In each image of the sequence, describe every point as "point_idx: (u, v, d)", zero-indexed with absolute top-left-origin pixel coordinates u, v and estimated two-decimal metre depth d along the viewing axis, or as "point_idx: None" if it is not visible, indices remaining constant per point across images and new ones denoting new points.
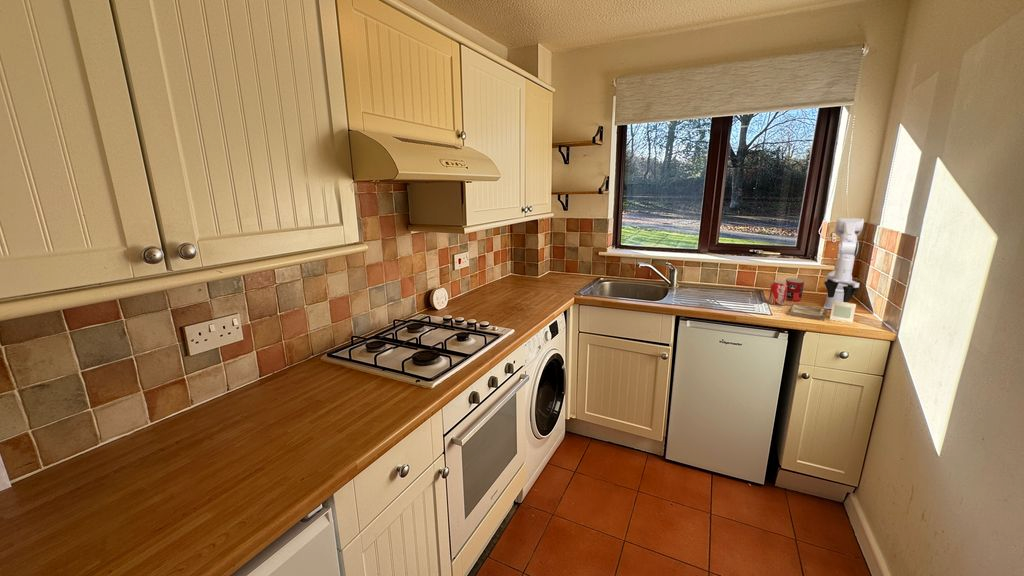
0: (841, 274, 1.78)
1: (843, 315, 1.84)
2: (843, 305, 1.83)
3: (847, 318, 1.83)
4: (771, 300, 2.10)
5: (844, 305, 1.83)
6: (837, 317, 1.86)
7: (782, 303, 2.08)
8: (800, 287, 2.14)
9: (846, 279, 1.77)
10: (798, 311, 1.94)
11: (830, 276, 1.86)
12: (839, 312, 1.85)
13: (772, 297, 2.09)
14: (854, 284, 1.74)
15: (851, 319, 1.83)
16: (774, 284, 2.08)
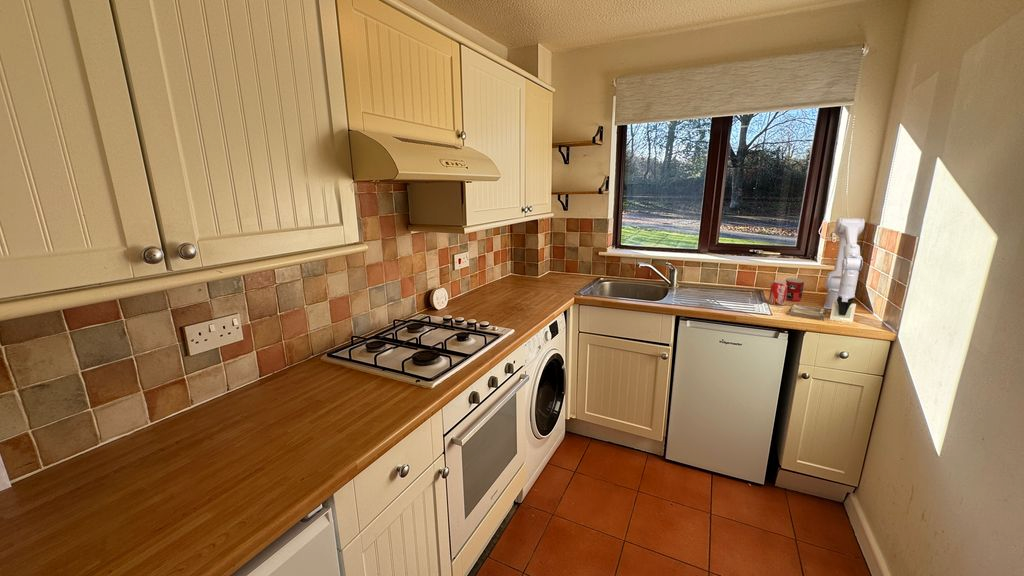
0: (840, 288, 1.83)
1: (843, 315, 1.84)
2: None
3: (847, 318, 1.84)
4: (771, 300, 2.10)
5: None
6: (837, 317, 1.86)
7: (782, 303, 2.08)
8: (800, 287, 2.14)
9: (843, 293, 1.82)
10: (798, 311, 1.94)
11: None
12: None
13: (772, 297, 2.09)
14: (842, 298, 1.79)
15: (851, 319, 1.83)
16: (774, 284, 2.08)
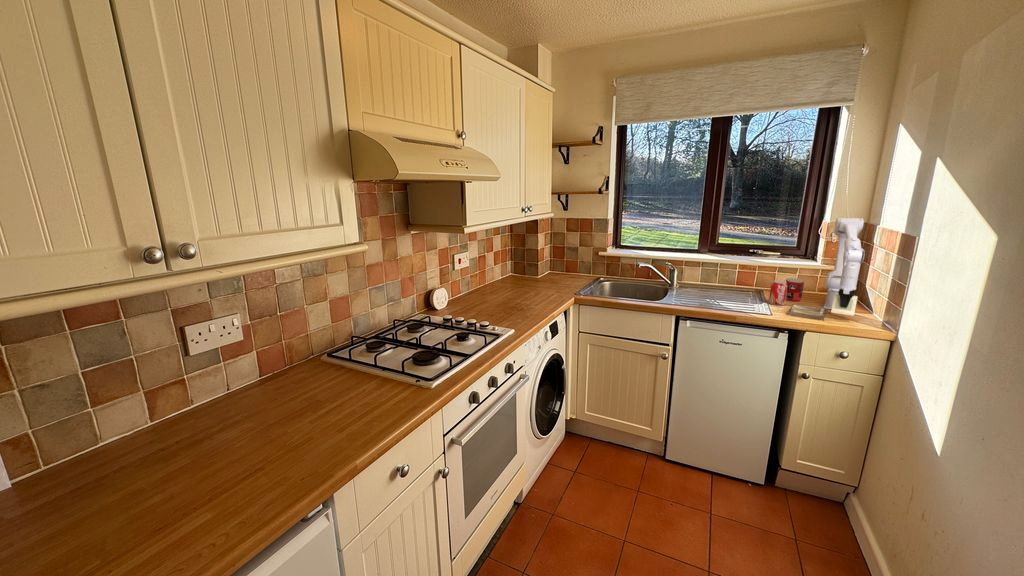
0: (841, 280, 1.82)
1: None
2: None
3: (848, 310, 1.83)
4: (771, 300, 2.10)
5: None
6: (838, 309, 1.85)
7: (782, 303, 2.08)
8: (800, 287, 2.14)
9: (845, 286, 1.81)
10: (798, 311, 1.94)
11: None
12: None
13: (772, 297, 2.09)
14: (843, 290, 1.78)
15: (853, 311, 1.82)
16: (774, 284, 2.08)
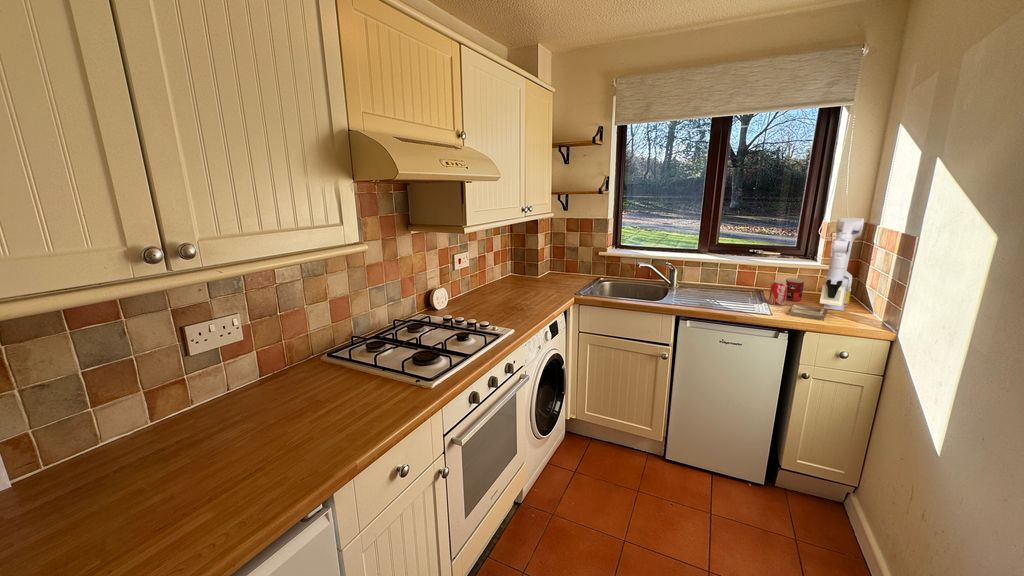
0: (829, 271, 1.85)
1: (833, 298, 1.86)
2: None
3: (836, 301, 1.85)
4: (771, 300, 2.10)
5: None
6: (827, 300, 1.88)
7: (782, 303, 2.08)
8: (800, 287, 2.14)
9: (833, 276, 1.84)
10: (798, 311, 1.94)
11: None
12: None
13: (772, 297, 2.09)
14: (831, 280, 1.81)
15: (840, 302, 1.85)
16: (774, 284, 2.08)
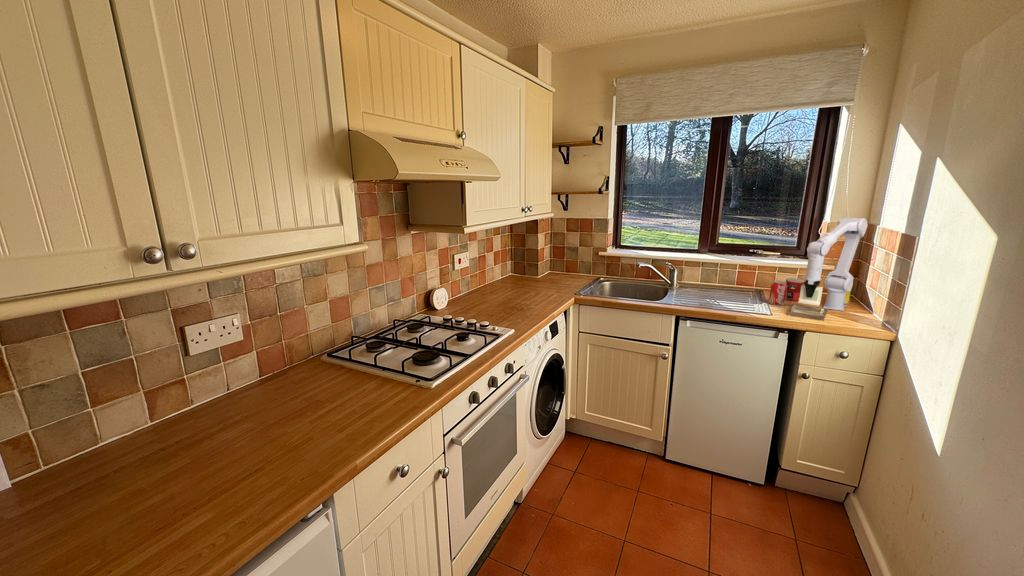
0: (807, 271, 1.91)
1: (811, 298, 1.92)
2: None
3: (814, 301, 1.92)
4: (771, 300, 2.10)
5: None
6: (805, 300, 1.94)
7: (782, 303, 2.08)
8: (800, 287, 2.14)
9: (810, 277, 1.90)
10: (798, 311, 1.94)
11: None
12: None
13: (772, 297, 2.09)
14: (808, 281, 1.87)
15: (818, 301, 1.91)
16: (774, 284, 2.08)
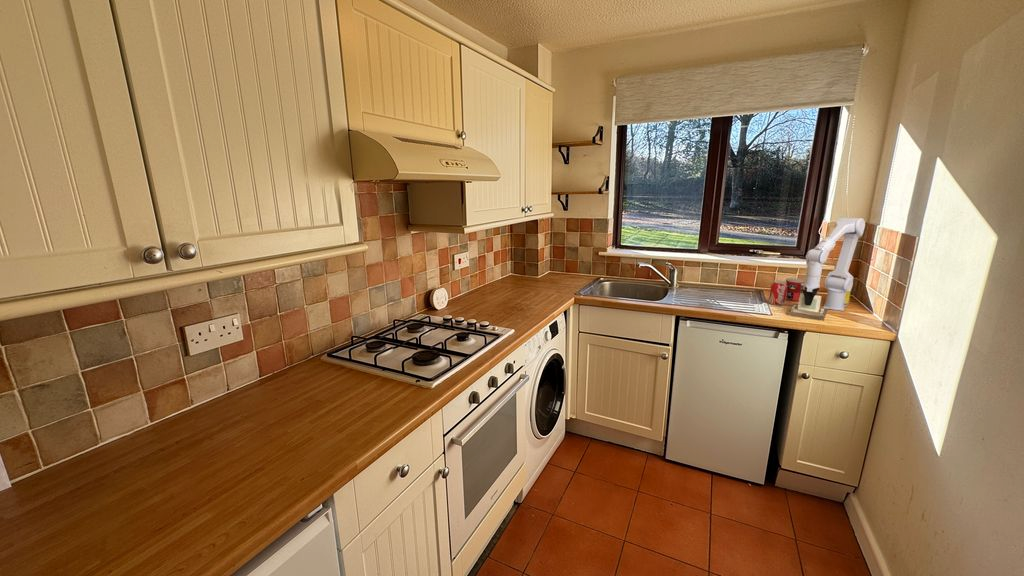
0: (806, 279, 1.92)
1: (809, 306, 1.93)
2: None
3: (813, 309, 1.93)
4: (771, 300, 2.10)
5: None
6: (804, 308, 1.95)
7: (782, 303, 2.08)
8: (800, 287, 2.14)
9: (809, 284, 1.91)
10: (798, 311, 1.94)
11: None
12: None
13: (772, 297, 2.09)
14: (807, 288, 1.88)
15: (816, 310, 1.92)
16: (774, 284, 2.08)
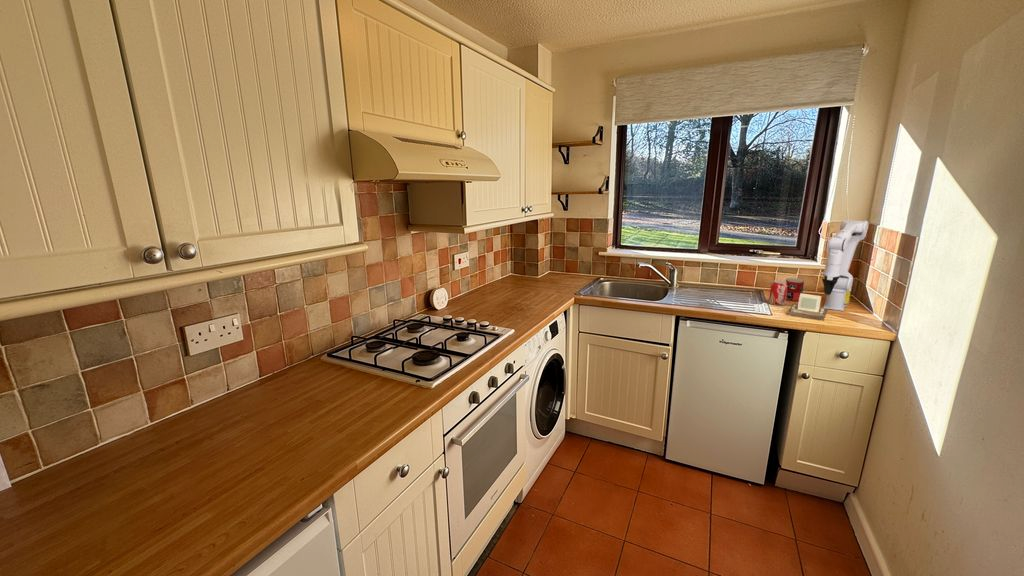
0: (826, 267, 1.90)
1: (809, 306, 1.93)
2: (809, 297, 1.93)
3: (813, 309, 1.93)
4: (771, 300, 2.10)
5: (810, 297, 1.93)
6: (804, 308, 1.95)
7: (782, 303, 2.08)
8: (800, 287, 2.14)
9: (829, 272, 1.89)
10: (798, 311, 1.94)
11: None
12: (805, 304, 1.94)
13: (772, 297, 2.09)
14: (827, 276, 1.86)
15: (816, 310, 1.92)
16: (774, 284, 2.08)
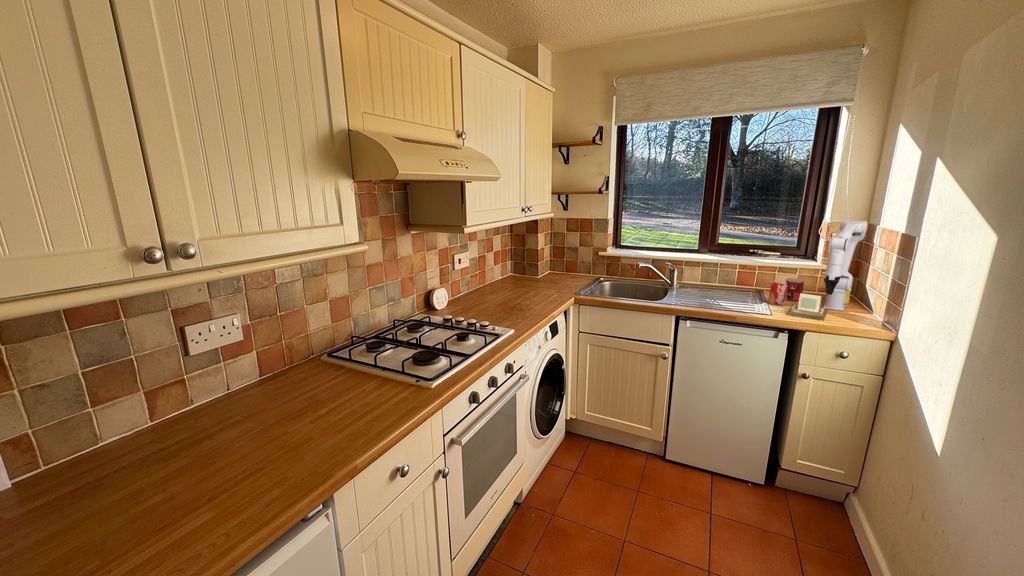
0: (827, 267, 1.90)
1: (809, 306, 1.93)
2: (809, 297, 1.93)
3: (813, 309, 1.93)
4: (771, 300, 2.10)
5: (810, 297, 1.93)
6: (804, 308, 1.95)
7: (782, 303, 2.08)
8: (800, 287, 2.14)
9: (831, 272, 1.89)
10: (798, 311, 1.94)
11: None
12: (805, 304, 1.94)
13: (772, 297, 2.09)
14: (829, 276, 1.86)
15: (816, 310, 1.92)
16: (774, 284, 2.08)
